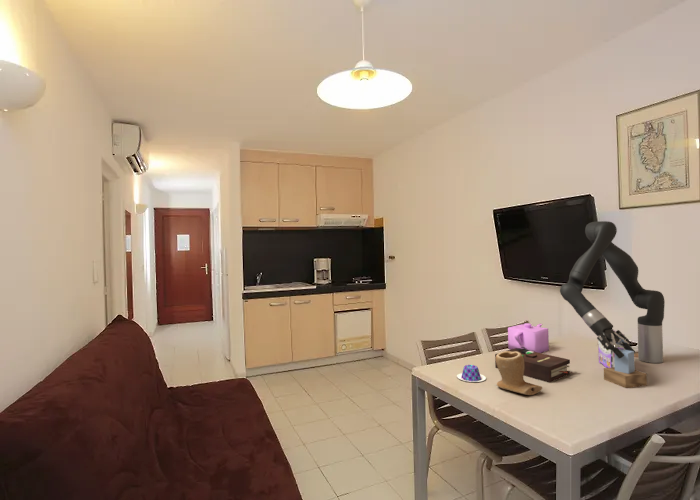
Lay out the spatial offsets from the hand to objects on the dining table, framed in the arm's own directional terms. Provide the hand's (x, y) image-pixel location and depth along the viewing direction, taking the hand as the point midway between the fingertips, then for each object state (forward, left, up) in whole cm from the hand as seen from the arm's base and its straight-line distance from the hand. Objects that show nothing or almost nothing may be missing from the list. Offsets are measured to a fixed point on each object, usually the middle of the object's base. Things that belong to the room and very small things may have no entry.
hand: (627, 355), depth 156 cm
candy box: (-16, -14, -11) cm, 24 cm away
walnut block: (0, -1, -12) cm, 12 cm away
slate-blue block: (0, -1, -7) cm, 7 cm away
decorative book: (+17, -31, -12) cm, 37 cm away
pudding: (+46, -39, -12) cm, 62 cm away
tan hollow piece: (+43, -19, -11) cm, 49 cm away
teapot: (-13, -53, -12) cm, 56 cm away
